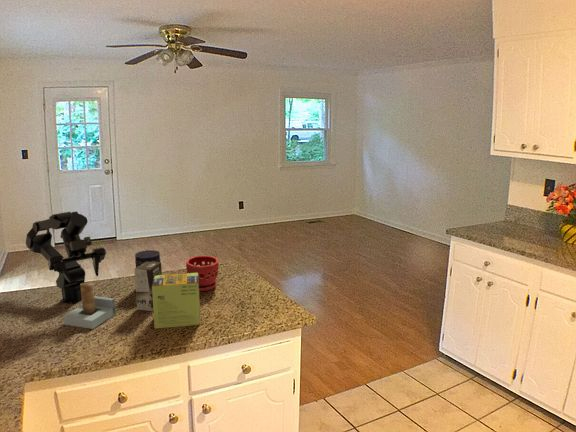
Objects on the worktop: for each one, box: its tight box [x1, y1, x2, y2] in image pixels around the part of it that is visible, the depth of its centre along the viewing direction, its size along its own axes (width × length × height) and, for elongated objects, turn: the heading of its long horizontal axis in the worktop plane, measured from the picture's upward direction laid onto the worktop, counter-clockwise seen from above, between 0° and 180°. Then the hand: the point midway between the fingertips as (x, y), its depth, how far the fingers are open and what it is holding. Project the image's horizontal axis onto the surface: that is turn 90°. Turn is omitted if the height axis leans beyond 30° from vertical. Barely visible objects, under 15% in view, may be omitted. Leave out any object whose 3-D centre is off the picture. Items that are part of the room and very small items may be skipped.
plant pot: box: [185, 255, 219, 292], centre depth 184 cm, size 13×13×12 cm
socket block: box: [62, 295, 117, 330], centre depth 155 cm, size 12×12×6 cm
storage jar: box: [134, 249, 161, 268], centre depth 182 cm, size 10×10×15 cm
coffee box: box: [134, 261, 163, 312], centre depth 166 cm, size 9×6×16 cm
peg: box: [80, 281, 96, 316], centre depth 155 cm, size 4×4×13 cm
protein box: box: [152, 272, 201, 329], centre depth 154 cm, size 10×15×16 cm
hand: (84, 278), depth 157 cm, fingers open, 9 cm apart
